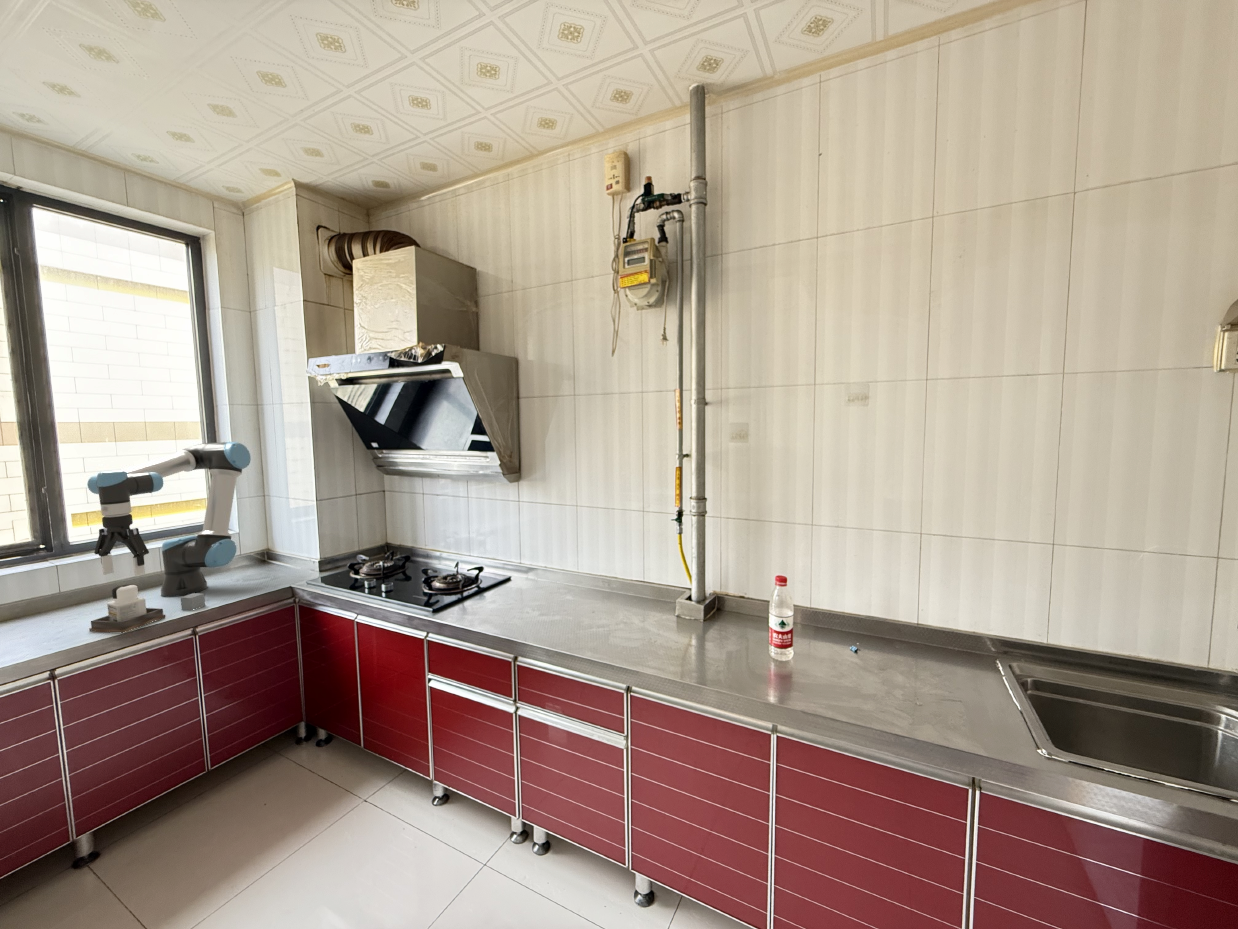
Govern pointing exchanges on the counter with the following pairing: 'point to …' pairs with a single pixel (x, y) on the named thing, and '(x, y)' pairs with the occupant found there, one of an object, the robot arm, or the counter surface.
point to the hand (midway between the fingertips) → (124, 574)
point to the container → (126, 603)
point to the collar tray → (126, 622)
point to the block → (192, 601)
